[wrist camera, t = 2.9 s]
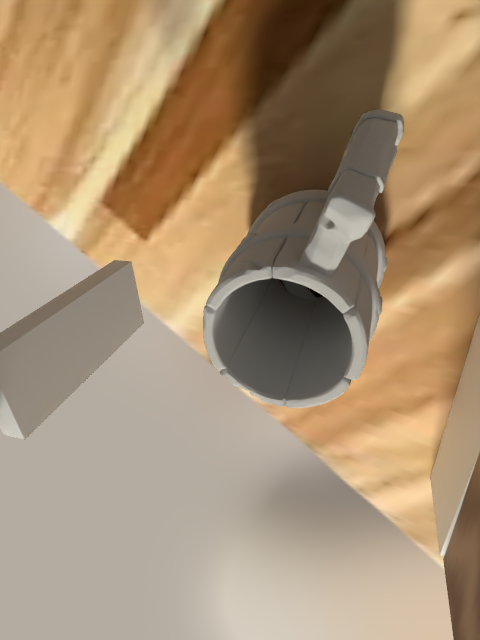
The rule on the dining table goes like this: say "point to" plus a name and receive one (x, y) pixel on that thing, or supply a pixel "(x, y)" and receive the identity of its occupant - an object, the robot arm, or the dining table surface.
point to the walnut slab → (465, 564)
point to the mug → (307, 282)
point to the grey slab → (458, 447)
